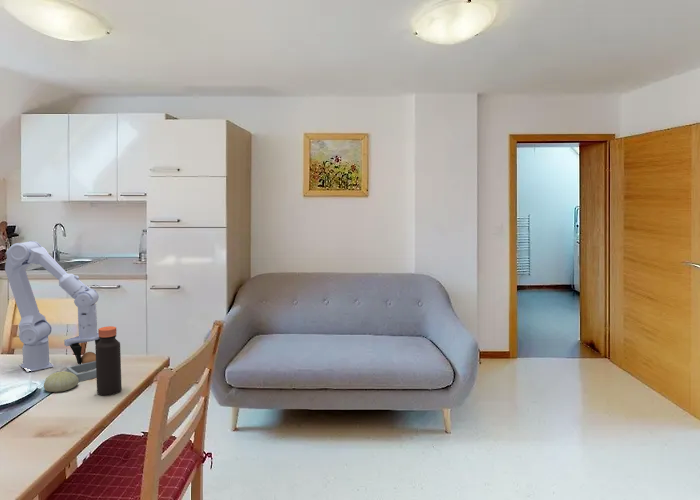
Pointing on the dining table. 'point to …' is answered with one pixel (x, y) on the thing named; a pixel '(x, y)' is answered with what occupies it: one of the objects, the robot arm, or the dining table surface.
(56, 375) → the sea urchin shell
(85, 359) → the ball
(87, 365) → the corral
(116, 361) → the bottle
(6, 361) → the dining table surface
